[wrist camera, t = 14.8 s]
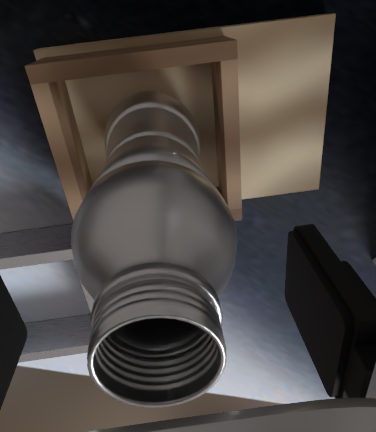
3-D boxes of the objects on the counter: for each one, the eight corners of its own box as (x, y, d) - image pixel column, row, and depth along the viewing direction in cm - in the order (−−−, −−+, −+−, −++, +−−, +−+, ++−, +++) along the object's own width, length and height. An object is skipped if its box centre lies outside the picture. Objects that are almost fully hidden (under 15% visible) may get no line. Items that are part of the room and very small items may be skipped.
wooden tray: (39, 48, 24) (12, 57, 19) (326, 13, 25) (367, 14, 20) (86, 211, 31) (75, 248, 26) (311, 181, 31) (340, 212, 26)
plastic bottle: (180, 71, 24) (254, 220, 7) (206, 159, 28) (298, 404, 10) (93, 101, 25) (-39, 309, 7) (129, 184, 28) (96, 457, 11)
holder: (-48, 239, 31) (-73, 268, 27) (89, 221, 31) (81, 247, 28) (3, 333, 37) (-12, 366, 34) (117, 317, 37) (113, 348, 34)
